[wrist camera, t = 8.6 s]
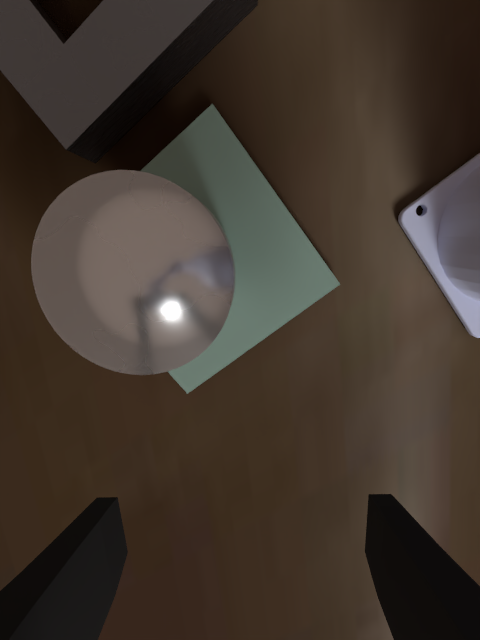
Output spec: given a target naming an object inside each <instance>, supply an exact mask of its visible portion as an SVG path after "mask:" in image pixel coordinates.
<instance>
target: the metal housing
mask: <svg viewBox="0 0 480 640" xmlns="http://www.w3.org/2000/svg"><path fill="white" fill-rule="evenodd" d="M257 5H258V0H103V1H102V2H101V3H100V4H99V6H98V7H97V8H96V9H95V10H94V11H93V12H92V13H91V14H90V16H89V17H88V18H87V19H86V20H85V21H84V22H83V23H82V24H81V26H80V27H79V28H78V29H77V30H76V31H75V32H74V33H73V34H72V36H71V37H70V38H69V39H68V40H67V39H66V38H65V36H64V35H63V34H62V32H61V31H60V30H59V28H58V27H57V26H56V25H55V23H54V22H53V21H52V19H51V18H50V17H49V15H48V14H47V13H46V12H45V10H44V9H43V8H42V6H41V5H40V4H39V2H38V1H37V0H0V70H1V72H2V73H3V74H4V75H5V77H6V78H7V79H8V80H9V81H10V83H11V84H12V85H13V86H14V87H15V89H16V90H17V91H18V92H19V93H20V95H21V96H22V97H23V98H24V99H25V101H26V102H27V103H28V104H29V106H30V107H31V108H32V109H33V110H34V112H35V113H36V114H37V115H38V116H39V118H40V119H41V120H42V121H43V122H44V124H45V125H46V126H47V127H48V128H49V130H50V131H51V132H52V133H53V135H54V136H55V137H56V138H57V139H58V141H59V142H60V143H61V144H62V145H63V147H64V148H65V149H66V150H68V151H70V152H72V153H74V154H76V155H79V156H81V157H83V158H85V159H87V160H90V161H92V162H94V163H96V162H97V161H98V160H99V159H100V158H101V157H102V156H103V155H104V154H105V153H106V152H107V151H108V150H109V149H110V148H111V147H112V146H114V145H115V144H116V143H117V142H118V141H119V140H120V139H121V138H122V137H123V136H124V135H125V134H126V133H127V132H128V131H129V130H130V129H131V128H132V127H133V126H134V125H135V124H136V123H137V122H138V121H139V120H140V119H141V118H142V117H143V116H144V115H145V114H146V113H147V112H148V111H149V110H150V109H151V108H152V107H153V106H154V105H156V104H157V103H158V102H159V101H160V100H161V99H162V98H163V97H164V96H165V95H166V94H167V93H168V92H169V91H170V90H171V89H172V88H173V87H174V86H175V85H176V84H177V83H178V82H179V81H180V80H181V79H182V78H183V77H184V76H185V75H186V74H187V73H188V72H189V71H190V70H191V69H192V68H193V67H194V66H195V65H196V64H198V63H199V62H200V61H201V60H202V59H203V58H204V57H205V56H206V55H207V54H208V53H209V52H210V51H211V50H212V49H213V48H214V47H215V46H216V45H217V44H218V43H219V42H220V41H221V40H222V39H223V38H224V37H225V36H226V35H227V34H228V33H229V32H230V31H231V30H232V29H233V28H234V27H235V26H236V25H237V24H238V23H240V22H241V21H242V20H243V19H244V18H245V17H246V16H247V15H248V14H249V13H250V12H251V11H252V10H253V9H254V8H255V7H256V6H257Z"/></svg>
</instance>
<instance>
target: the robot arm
mask: <svg viewBox="0 0 480 640" xmlns="http://www.w3.org/2000/svg"><path fill="white" fill-rule="evenodd" d="M419 205H420V206H421V207H422V208H423V212H422V214H421V215H420V216H418V215H417V214H416V208H417V207H418V206H419ZM398 221H399V224H400V226H401V227H402V229H403V230H404V232H405V234H406V235H407V237H408V238H409V240H410V241H411V243H412V245H413V246H414V248H415V249H416V251H417V252H418V254H419V256H420V257H421V259H422V260H423V262H424V263H425V265H426V267H427V268H428V270H429V271H430V273H431V275H432V276H433V278H434V279H435V281H436V282H437V284H438V286H439V287H440V289H441V290H442V292H443V293H444V295H445V297H446V298H447V300H448V301H449V303H450V304H451V306H452V308H453V309H454V311H455V312H456V314H457V315H458V317H459V319H460V320H461V322H462V323H463V325H464V326H465V328H466V330H467V331H468V333H469V334H470V335H472V336H474V337H477V338H480V153H479V154H477V155H476V156H475V157H473V158H472V159H471V160H469V161H468V162H466V163H465V164H464V165H462V166H461V167H460V168H458V169H457V170H456V171H454V172H453V173H452V174H450V175H449V176H448V177H446V178H445V179H443V180H442V181H441V182H439V183H438V184H437V185H435V186H434V187H433V188H431V189H430V190H429V191H427V192H426V193H424V194H423V195H422V196H420V197H419V198H418V199H416V200H415V201H414V202H412V203H411V204H410V205H408V206H407V207H405V208H404V209H403V210H402V211H401V212H400V214H399V216H398ZM127 552H128V551H127V546H126V540H125V535H124V530H123V524H122V519H121V514H120V508H119V503H118V497H111V498H96V499H95V500H94V501H93V502H92V503H91V504H90V505H89V506H88V507H87V508H86V509H85V510H84V511H83V512H82V513H81V514H80V515H79V516H78V517H77V518H76V519H75V520H74V521H73V522H72V523H71V524H70V525H69V526H68V527H67V528H66V529H65V530H64V531H63V532H62V533H61V534H60V535H59V536H58V537H57V538H56V539H55V540H54V541H53V542H52V543H51V544H50V545H49V546H48V547H47V548H46V549H45V550H44V551H42V552H41V553H40V554H39V555H38V556H37V557H36V558H35V559H34V560H33V561H32V562H31V563H30V564H29V565H28V566H27V567H26V568H25V569H24V570H23V571H22V572H21V573H20V574H19V575H17V576H16V577H15V578H14V579H13V580H12V581H11V582H10V583H9V584H8V585H6V586H5V587H4V588H3V589H2V590H1V591H0V640H98V637H99V635H100V632H101V630H102V627H103V625H104V622H105V620H106V617H107V615H108V612H109V610H110V607H111V604H112V602H113V599H114V597H115V594H116V590H117V587H118V584H119V580H120V577H121V574H122V570H123V567H124V563H125V560H126V556H127ZM365 553H366V557H367V560H368V564H369V568H370V571H371V575H372V578H373V582H374V585H375V589H376V592H377V596H378V599H379V601H380V604H381V607H382V609H383V612H384V615H385V617H386V620H387V623H388V625H389V628H390V630H391V633H392V636H393V638H394V640H480V586H479V585H478V584H477V583H476V582H475V581H474V580H473V579H472V578H471V577H470V576H469V575H468V574H467V573H466V572H465V571H464V570H463V569H462V568H461V567H460V566H459V565H458V564H457V563H456V562H455V561H454V560H453V559H452V558H451V557H450V556H449V555H448V554H447V553H446V552H445V551H444V550H443V549H442V548H441V547H440V546H439V545H438V544H437V543H436V542H435V540H434V539H433V538H432V537H431V536H430V535H429V534H428V533H427V532H426V531H425V530H424V529H423V528H422V527H421V526H420V525H419V523H418V522H417V521H416V520H415V519H414V518H413V517H412V516H411V515H410V514H409V513H408V512H407V510H406V509H405V508H404V507H403V506H402V505H401V504H400V503H399V502H398V501H397V500H396V499H395V498H394V497H393V496H392V495H391V494H369V499H368V514H367V529H366V544H365Z"/></svg>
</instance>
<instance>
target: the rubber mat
mask: <svg viewBox="0 0 480 640" xmlns="http://www.w3.org/2000/svg"><path fill="white" fill-rule="evenodd" d="M141 172H146V173H150V174H153V175H156V176H159V177H162V178H164V179H167V180H169V181H171V182H173V183H175V184H177V185H178V186H180V187H181V188H183V189H184V190H186V191H187V192H189V193H190V194H191V195H193V196H194V197H196V198H197V199H198V200H199V201H200V202H201V203H203V204H204V205H205V206H206V207H207V208H208V209H209V210H210V212H211V213H212V214H213V215H214V216H215V218H216V219H217V220H218V222H219V223H220V225H221V226H222V228H223V230H224V232H225V234H226V236H227V238H228V240H229V243H230V246H231V249H232V252H233V257H234V261H235V270H236V284H235V291H234V297H233V301H232V304H231V307H230V310H229V313H228V317H227V319H226V321H225V323H224V325H223V327H222V329H221V331H220V332H219V334H218V336H217V337H216V339H215V340H214V341H213V342H212V343H211V344H210V346H209V347H208V348H207V349H206V350H205V351H204V352H202V353H201V354H200V355H199V356H198V357H196V358H195V359H193V360H192V361H190V362H189V363H187V364H185V365H183V366H181V367H179V368H176V369H173V370H170V371H168V372H169V374H170V375H171V376H172V377H173V378H174V379H175V380H176V381H177V383H178V384H179V385H180V386H181V387H182V388H183V389H184V390H185V391H186V393H187V394H188V393H189V392H190V391H192V390H193V389H195V388H196V387H197V386H199V385H200V384H202V383H203V382H204V381H206V380H207V379H209V378H210V377H211V376H213V375H214V374H216V373H217V372H218V371H220V370H221V369H223V368H224V367H225V366H227V365H228V364H230V363H231V362H232V361H234V360H235V359H237V358H238V357H239V356H241V355H242V354H243V353H245V352H246V351H248V350H249V349H250V348H252V347H253V346H255V345H256V344H257V343H259V342H260V341H262V340H263V339H264V338H266V337H267V336H269V335H270V334H271V333H273V332H274V331H276V330H277V329H278V328H280V327H281V326H283V325H284V324H285V323H287V322H288V321H290V320H291V319H292V318H294V317H295V316H296V315H298V314H299V313H301V312H302V311H303V310H305V309H306V308H308V307H309V306H310V305H312V304H313V303H315V302H316V301H317V300H319V299H320V298H322V297H323V296H324V295H326V294H327V293H329V292H330V291H331V290H333V289H334V288H336V287H337V286H338V285H340V283H339V282H338V280H337V279H336V278H335V276H334V275H333V273H332V272H331V271H330V269H329V268H328V266H327V265H326V263H325V262H324V261H323V259H322V258H321V256H320V255H319V254H318V252H317V251H316V249H315V248H314V246H313V245H312V244H311V242H310V241H309V239H308V238H307V237H306V235H305V234H304V232H303V231H302V230H301V228H300V227H299V225H298V224H297V222H296V221H295V220H294V218H293V217H292V215H291V214H290V213H289V211H288V210H287V208H286V207H285V205H284V204H283V203H282V201H281V200H280V198H279V197H278V196H277V194H276V193H275V191H274V190H273V188H272V187H271V186H270V184H269V183H268V181H267V180H266V179H265V177H264V176H263V174H262V173H261V172H260V170H259V169H258V167H257V166H256V164H255V163H254V162H253V160H252V159H251V157H250V156H249V155H248V153H247V152H246V150H245V149H244V147H243V146H242V145H241V143H240V142H239V140H238V139H237V138H236V136H235V135H234V133H233V132H232V131H231V129H230V128H229V126H228V125H227V123H226V122H225V121H224V119H223V118H222V116H221V115H220V114H219V112H218V111H217V109H216V108H215V106H214V105H213V104H211V105H210V106H209V107H208V108H207V109H206V110H205V111H204V112H203V113H202V114H201V115H200V116H199V117H198V118H196V119H195V120H194V121H193V122H192V123H191V124H190V125H189V126H188V127H187V128H186V129H185V130H184V131H183V132H181V133H180V134H179V135H178V136H177V137H176V138H175V139H174V140H173V141H172V142H171V143H170V144H169V145H168V146H166V147H165V148H164V149H163V150H162V151H161V152H160V153H159V154H158V155H157V156H156V157H155V158H154V159H153V160H151V161H150V162H149V163H148V164H147V165H146V166H145V167H144V168H143V169H142V170H141Z"/></svg>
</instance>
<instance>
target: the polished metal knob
mask: <svg viewBox="0 0 480 640" xmlns="http://www.w3.org/2000/svg"><path fill="white" fill-rule="evenodd" d="M31 271H32V278H33V284H34V288H35V292H36V296H37V299H38V301H39V304H40V306H41V309H42V311H43V312H44V314H45V316H46V318H47V320H48V321H49V323H50V324H51V326H52V327H53V329H54V330H55V331H56V333H57V334H58V335H59V336H60V337H61V338H62V339H63V341H64V342H66V343H67V344H68V345H69V346H70V347H71V348H72V349H73V350H74V351H76V352H77V353H79V354H80V355H81V356H83V357H84V358H86V359H88V360H89V361H91V362H93V363H95V364H97V365H99V366H102V367H104V368H106V369H110V370H113V371H116V372H121V373H127V374H136V375H147V374H157V373H162V372H167V371H170V370H173V369H176V368H179V367H181V366H183V365H185V364H187V363H189V362H190V361H192V360H193V359H195V358H196V357H198V356H199V355H200V354H201V353H202V352H204V351H205V350H206V349H207V348H208V347H209V346H210V344H211V343H212V342H213V341H214V340H215V339H216V337H217V336H218V334H219V332H220V331H221V329H222V327H223V325H224V323H225V321H226V319H227V317H228V313H229V310H230V307H231V304H232V301H233V297H234V291H235V284H236V270H235V261H234V257H233V252H232V249H231V246H230V243H229V240H228V238H227V236H226V234H225V232H224V230H223V228H222V226H221V225H220V223H219V222H218V220H217V219H216V218H215V216H214V215H213V214H212V213H211V212H210V210H209V209H208V208H207V207H206V206H205V205H204V204H203V203H201V202H200V201H199V200H198V199H197V198H196V197H194V196H193V195H191V194H190V193H189V192H187V191H186V190H184V189H183V188H181V187H180V186H178V185H177V184H175V183H173V182H171V181H169V180H167V179H164V178H162V177H159V176H156V175H153V174H150V173H146V172H141V171H135V170H113V171H105V172H101V173H97V174H93V175H91V176H88V177H86V178H84V179H81V180H79V181H78V182H76V183H74V184H73V185H71V186H70V187H68V188H67V189H66V190H64V191H63V192H62V193H61V194H60V195H59V196H58V197H57V198H56V199H55V200H54V201H53V203H52V204H51V205H50V206H49V207H48V209H47V211H46V212H45V214H44V215H43V217H42V219H41V221H40V224H39V226H38V228H37V231H36V234H35V238H34V242H33V248H32V255H31Z"/></svg>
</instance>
